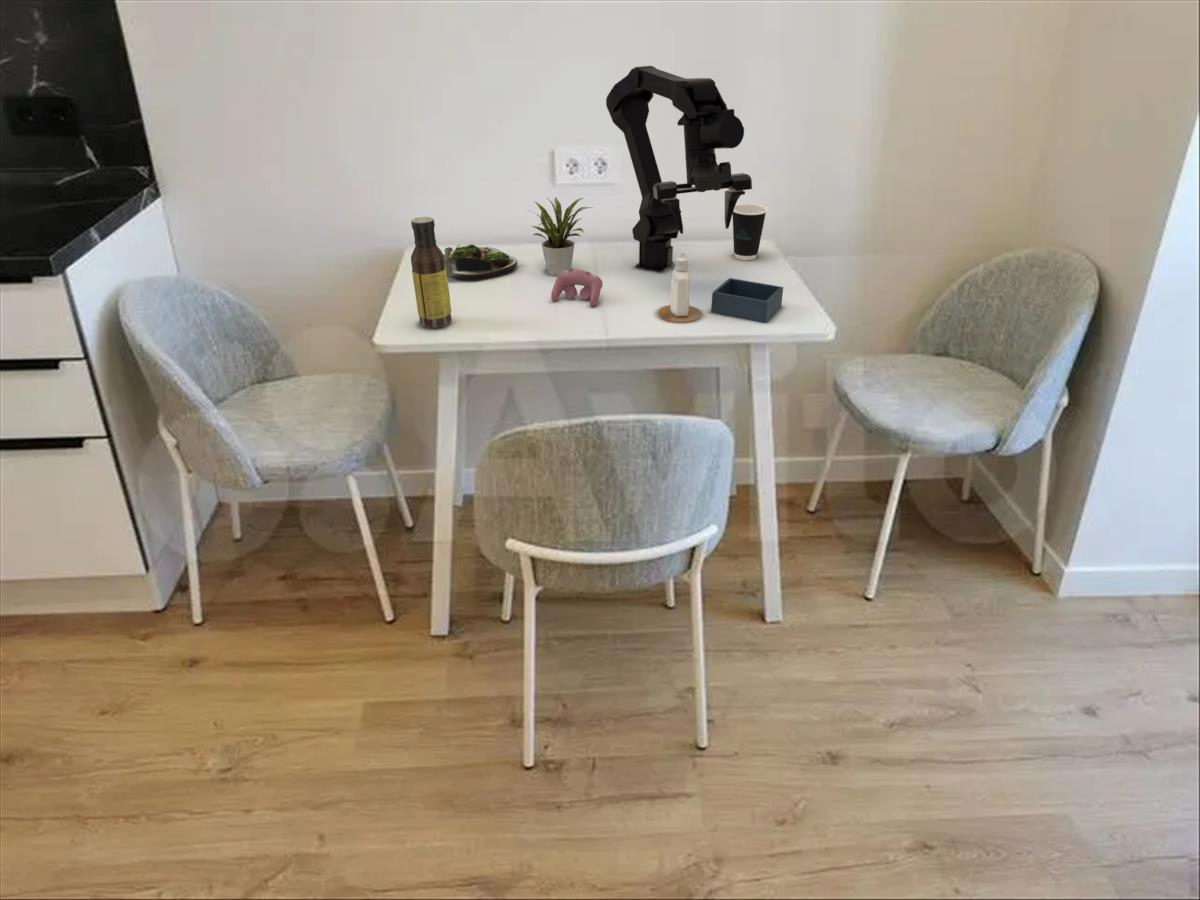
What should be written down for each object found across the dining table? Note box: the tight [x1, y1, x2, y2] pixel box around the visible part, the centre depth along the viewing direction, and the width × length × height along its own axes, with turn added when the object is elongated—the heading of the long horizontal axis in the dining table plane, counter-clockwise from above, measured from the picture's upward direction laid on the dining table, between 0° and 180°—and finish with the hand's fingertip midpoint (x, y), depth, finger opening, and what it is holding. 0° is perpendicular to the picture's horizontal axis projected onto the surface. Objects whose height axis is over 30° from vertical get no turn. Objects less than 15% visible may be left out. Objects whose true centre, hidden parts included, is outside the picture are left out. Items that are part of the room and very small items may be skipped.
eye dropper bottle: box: [669, 250, 691, 317], centre depth 168 cm, size 4×6×12 cm
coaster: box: [657, 304, 702, 324], centre depth 171 cm, size 8×8×1 cm
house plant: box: [527, 196, 595, 276], centre depth 189 cm, size 14×14×16 cm
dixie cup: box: [732, 203, 768, 261], centre depth 198 cm, size 8×8×11 cm
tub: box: [710, 277, 784, 323], centre depth 172 cm, size 11×9×4 cm
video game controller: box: [550, 269, 603, 307], centre depth 177 cm, size 10×5×7 cm, turn 71°
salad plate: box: [443, 243, 518, 282], centre depth 195 cm, size 19×18×5 cm
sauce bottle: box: [410, 216, 452, 329], centre depth 163 cm, size 6×6×20 cm
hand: (704, 231), depth 177 cm, fingers open, 9 cm apart
